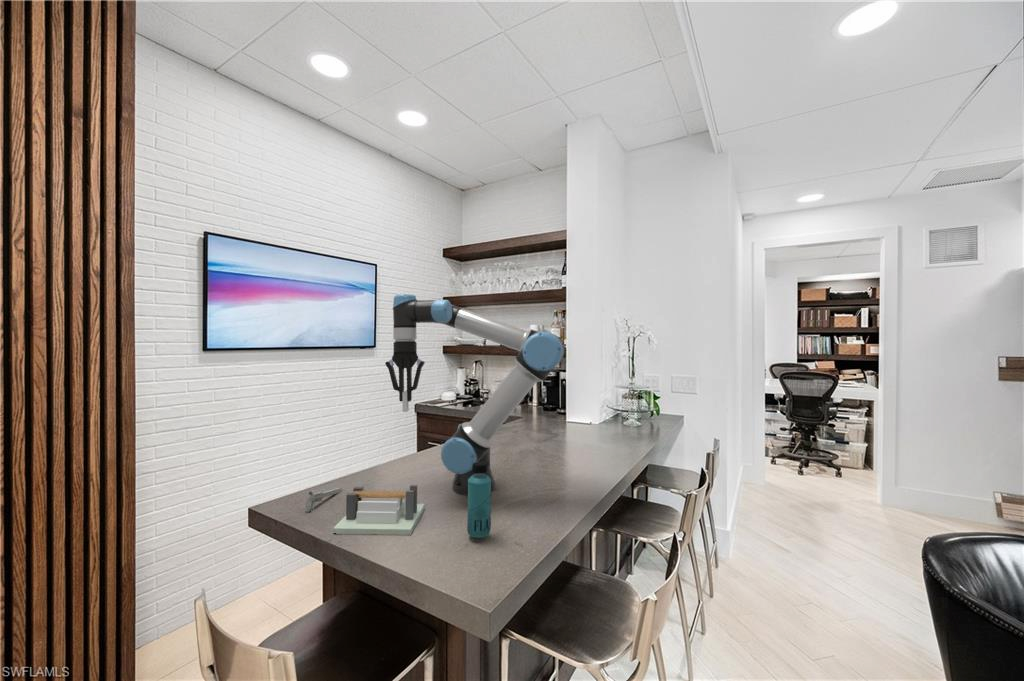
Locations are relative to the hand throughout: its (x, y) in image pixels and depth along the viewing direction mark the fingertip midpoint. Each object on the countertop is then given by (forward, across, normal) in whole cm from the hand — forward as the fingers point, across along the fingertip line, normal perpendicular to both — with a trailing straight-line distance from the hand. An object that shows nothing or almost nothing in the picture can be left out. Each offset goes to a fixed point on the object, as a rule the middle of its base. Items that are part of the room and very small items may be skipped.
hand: (405, 411), depth 142 cm
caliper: (+29, +25, +2) cm, 38 cm away
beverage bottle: (+30, -25, +30) cm, 49 cm away
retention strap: (+24, +3, +18) cm, 31 cm away
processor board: (+29, +4, +18) cm, 34 cm away
